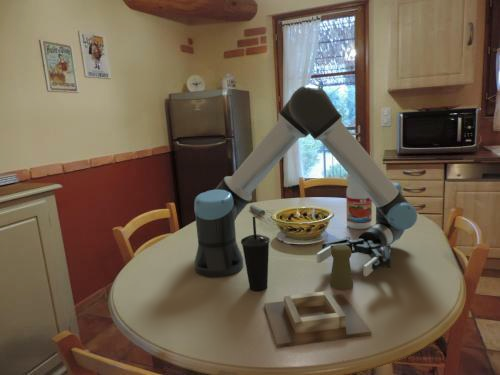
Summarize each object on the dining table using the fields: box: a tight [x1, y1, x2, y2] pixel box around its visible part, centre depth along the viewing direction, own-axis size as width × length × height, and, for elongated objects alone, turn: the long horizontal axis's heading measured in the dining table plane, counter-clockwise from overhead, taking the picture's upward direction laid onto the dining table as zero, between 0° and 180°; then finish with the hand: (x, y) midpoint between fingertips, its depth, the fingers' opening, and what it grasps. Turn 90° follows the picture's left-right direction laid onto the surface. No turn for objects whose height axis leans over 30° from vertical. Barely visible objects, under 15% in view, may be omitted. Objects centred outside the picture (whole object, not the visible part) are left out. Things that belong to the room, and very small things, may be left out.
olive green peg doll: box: [329, 244, 354, 291], centre depth 96 cm, size 6×6×11 cm
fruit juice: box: [345, 173, 373, 230], centre depth 139 cm, size 9×9×28 cm
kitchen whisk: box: [249, 204, 278, 224], centre depth 160 cm, size 6×34×6 cm, turn 18°
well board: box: [263, 290, 372, 349], centre depth 82 cm, size 20×16×4 cm
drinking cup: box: [240, 216, 271, 293], centre depth 96 cm, size 8×8×20 cm
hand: (340, 264), depth 94 cm, fingers open, 13 cm apart
